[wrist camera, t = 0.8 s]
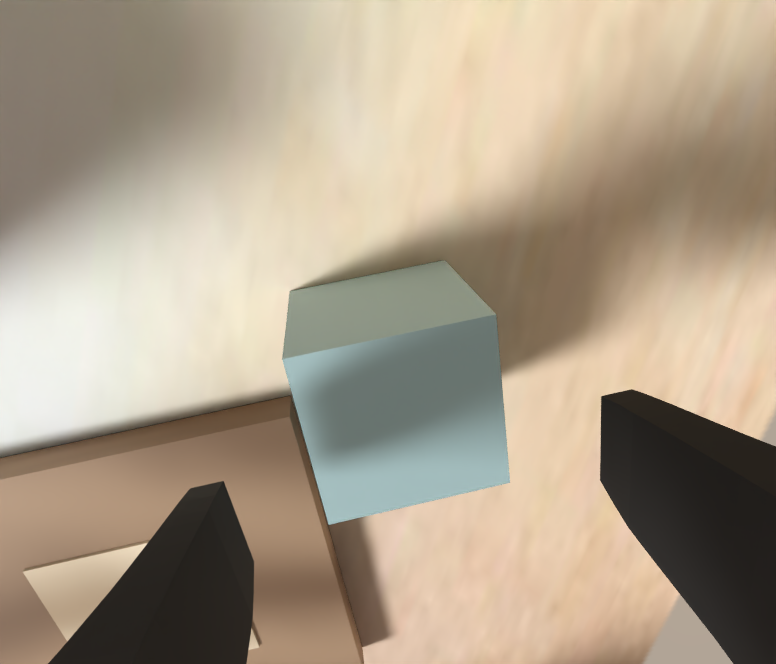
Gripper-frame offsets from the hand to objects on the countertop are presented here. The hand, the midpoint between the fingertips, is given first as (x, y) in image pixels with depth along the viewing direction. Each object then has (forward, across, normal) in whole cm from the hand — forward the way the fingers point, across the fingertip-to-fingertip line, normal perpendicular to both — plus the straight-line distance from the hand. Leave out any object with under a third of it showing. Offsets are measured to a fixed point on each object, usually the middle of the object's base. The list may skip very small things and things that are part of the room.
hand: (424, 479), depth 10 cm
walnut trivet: (+6, +9, +7) cm, 13 cm away
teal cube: (+6, 0, 0) cm, 6 cm away
